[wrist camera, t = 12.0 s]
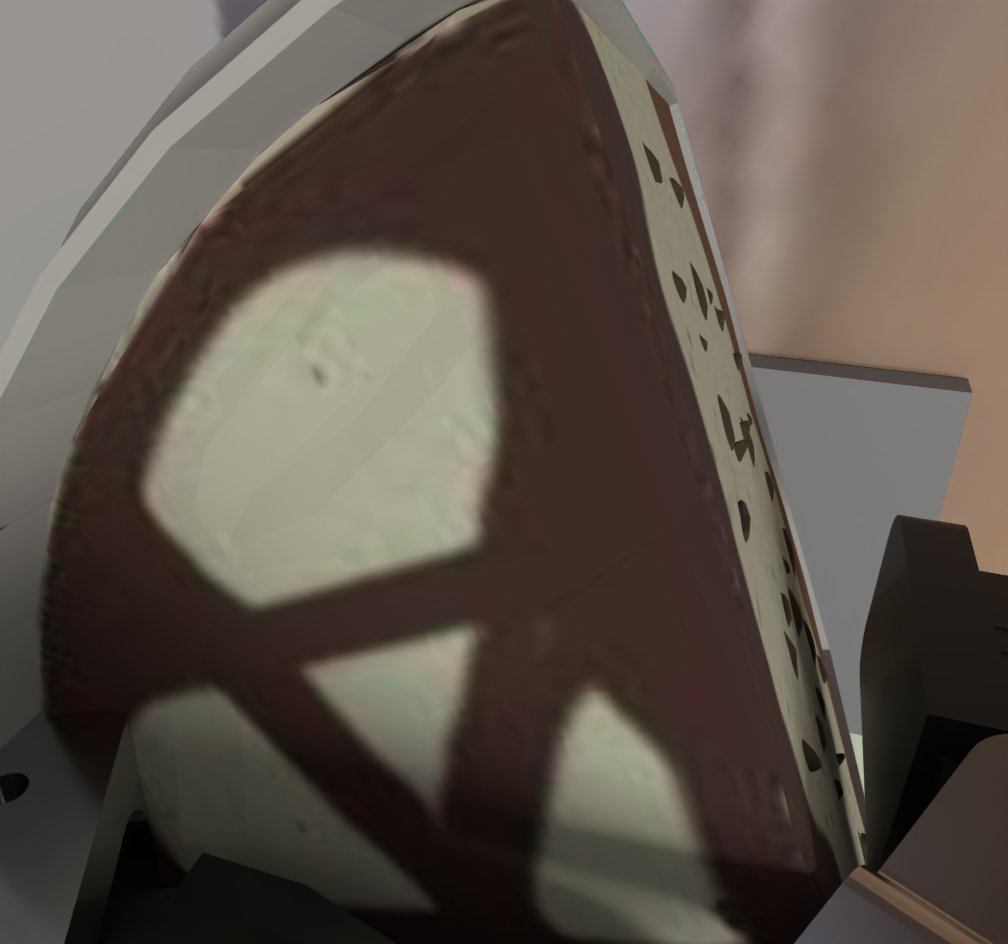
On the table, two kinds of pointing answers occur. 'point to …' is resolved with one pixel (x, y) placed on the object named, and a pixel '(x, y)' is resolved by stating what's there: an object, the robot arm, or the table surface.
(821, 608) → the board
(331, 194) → the food container
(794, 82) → the table surface
